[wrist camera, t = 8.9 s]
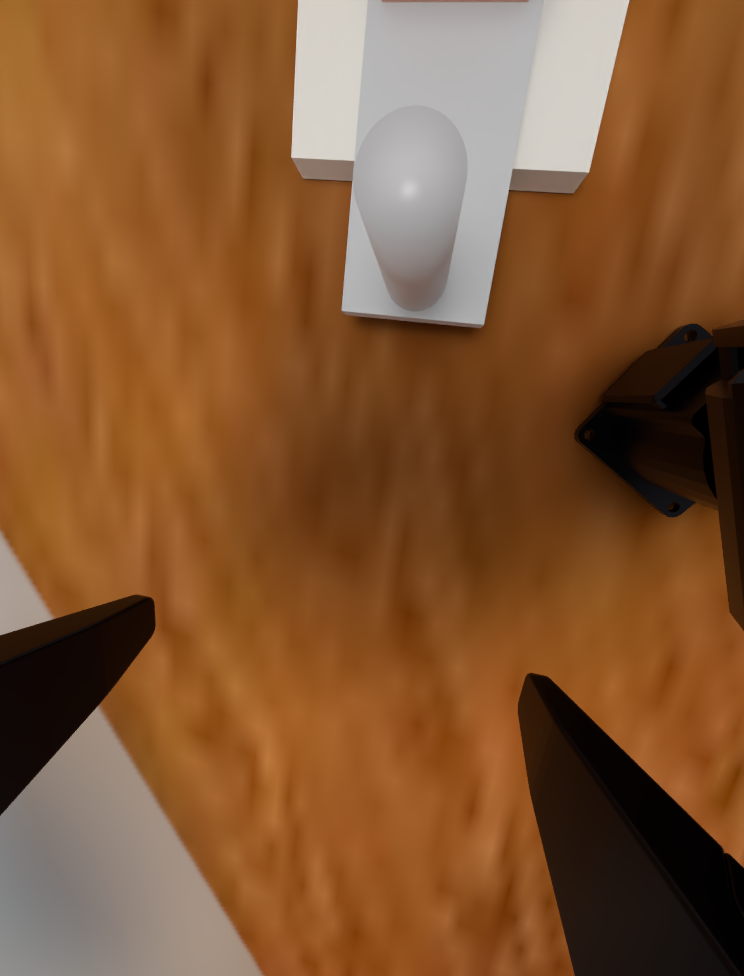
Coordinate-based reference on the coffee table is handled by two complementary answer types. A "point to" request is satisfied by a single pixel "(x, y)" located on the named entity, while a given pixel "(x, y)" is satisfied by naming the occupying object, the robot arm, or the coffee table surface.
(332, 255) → the coffee table surface
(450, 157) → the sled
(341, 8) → the board
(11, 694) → the robot arm
